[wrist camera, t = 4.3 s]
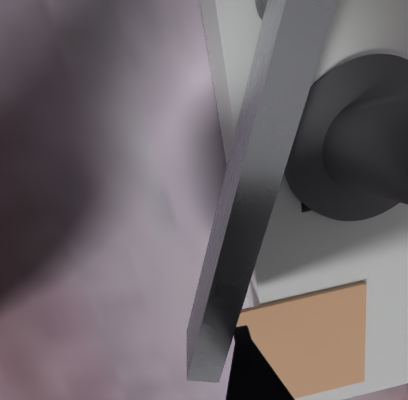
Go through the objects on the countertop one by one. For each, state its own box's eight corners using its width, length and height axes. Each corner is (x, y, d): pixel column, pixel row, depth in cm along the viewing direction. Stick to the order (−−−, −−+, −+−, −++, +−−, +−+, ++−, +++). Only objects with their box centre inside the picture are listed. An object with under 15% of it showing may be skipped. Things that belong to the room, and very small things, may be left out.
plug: (263, 210, 12) (422, 339, 4) (249, 96, 11) (472, -80, 2) (364, 188, 13) (711, 269, 4) (366, 73, 11) (946, -165, 3)
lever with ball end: (180, 318, 10) (177, 396, 7) (263, -43, 7) (331, -208, 4) (216, 322, 10) (229, 399, 7) (313, -25, 7) (417, -164, 4)
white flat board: (240, 370, 15) (254, 426, 12) (150, -76, 9) (131, -201, 6) (384, 335, 16) (432, 381, 13) (408, -120, 9) (526, -260, 6)
